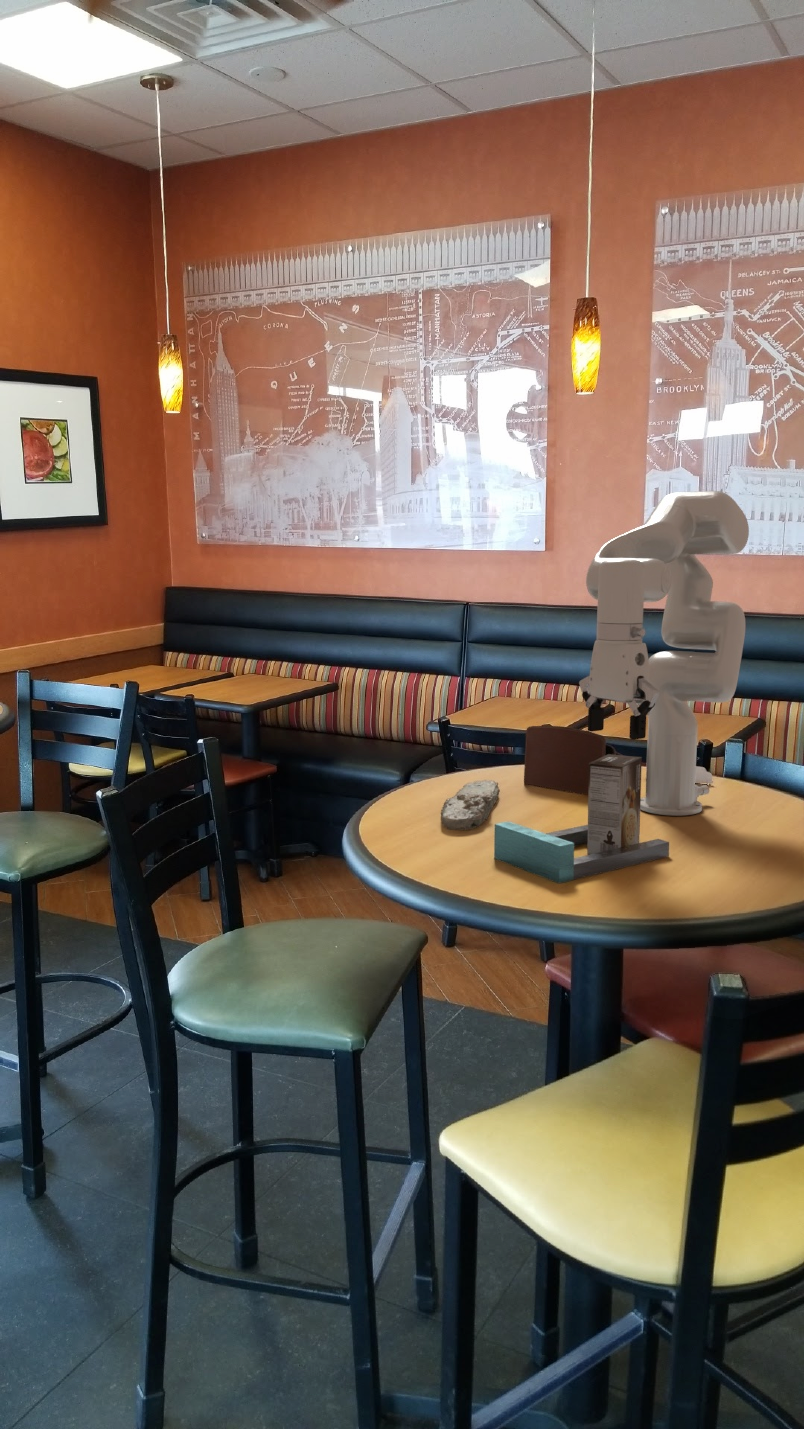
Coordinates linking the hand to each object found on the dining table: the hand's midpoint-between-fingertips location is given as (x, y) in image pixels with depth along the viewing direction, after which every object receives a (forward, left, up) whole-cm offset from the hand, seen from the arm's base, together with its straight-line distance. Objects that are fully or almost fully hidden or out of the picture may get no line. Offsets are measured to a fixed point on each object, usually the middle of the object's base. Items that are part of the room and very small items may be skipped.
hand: (616, 734), depth 176 cm
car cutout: (-50, -29, -21) cm, 62 cm away
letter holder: (-28, -39, -21) cm, 52 cm away
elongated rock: (+3, -36, -21) cm, 42 cm away
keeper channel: (+7, 0, -20) cm, 22 cm away
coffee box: (0, 0, -21) cm, 21 cm away
